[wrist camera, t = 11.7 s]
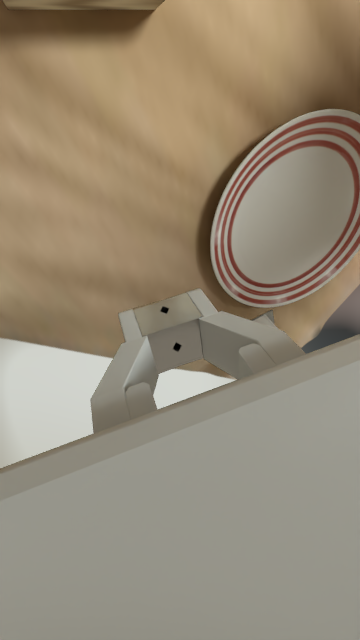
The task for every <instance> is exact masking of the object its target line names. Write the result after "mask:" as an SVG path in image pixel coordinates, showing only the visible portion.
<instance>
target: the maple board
mask: <svg viewBox="0 0 360 640" xmlns="http://www.w3.org/2000/svg"><path fill="white" fill-rule="evenodd" d="M164 1H165V0H3V2H4V4H5V5H6V7H7V9H8V10H156V9H157V8H158V7H159V6H160V5H161V4H162V3H163V2H164Z"/></svg>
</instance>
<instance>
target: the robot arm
mask: <svg viewBox="0 0 360 640" xmlns="http://www.w3.org/2000/svg"><path fill="white" fill-rule="evenodd" d="M118 316H119V320H120V324H121V328H122V331H123V335H124V339H125V343H122V344H121V345H120V347H119V349H118V351H117V353H116V354H115V356H114V358H113V360H112V362H111V363H110V365H109V367H108V369H107V371H106V372H105V374H104V376H103V378H102V380H101V382H100V383H99V385H98V387H97V389H96V390H95V392H94V394H93V396H92V398H91V410H92V421H93V432H94V434H91V435H89V436H86V437H83V438H81V439H78V440H75V441H73V442H70V443H67V444H65V445H62V446H60V447H57V448H54V449H51V450H49V451H46V452H43V453H41V454H38V455H36V456H33V457H30V458H27V459H25V460H22V461H19V462H16V463H14V464H11V465H8V466H6V467H3V468H0V640H360V334H359V335H357V336H354V337H351V338H348V339H346V340H343V341H341V342H338V343H335V344H332V345H330V346H327V347H324V348H322V349H320V350H316V351H314V352H311V353H308V354H305V352H304V351H302V349H301V348H300V347H299V346H298V345H297V344H296V343H295V342H294V341H293V340H292V339H291V338H290V337H289V336H288V335H287V334H286V333H285V332H284V331H281V330H278V329H275V328H272V327H269V326H266V325H263V324H260V323H257V322H254V321H251V320H248V319H245V318H242V317H239V316H236V315H233V314H230V313H227V312H224V311H220V312H218V311H217V310H216V308H215V307H214V306H213V305H212V303H211V302H210V301H209V299H208V298H207V297H206V295H205V294H204V293H203V291H202V290H201V289H200V288H197V289H194V290H191V291H188V292H186V293H183V294H180V295H177V296H174V297H171V298H168V299H165V300H161V301H157V302H153V303H150V304H147V305H143V306H140V307H136V308H133V310H132V309H129V310H126V311H123V312H119V313H118ZM202 358H204V359H205V360H206V361H208V362H210V363H211V364H213V365H215V366H216V367H218V368H220V369H221V370H223V371H225V372H226V373H228V374H230V375H231V376H233V377H235V378H236V379H238V380H236V381H233V382H231V383H228V384H225V385H223V386H220V387H217V388H214V389H212V390H209V391H207V392H204V393H201V394H198V395H196V396H193V397H190V398H188V399H186V400H182V401H180V402H177V403H174V404H172V405H169V406H166V407H164V408H161V409H158V410H157V407H156V404H155V401H154V398H153V393H154V390H155V387H156V383H157V379H158V374H160V373H162V372H165V371H167V370H170V369H173V368H175V367H178V366H181V365H184V364H187V363H190V362H193V361H196V360H199V359H202Z"/></svg>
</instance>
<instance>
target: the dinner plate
mask: <svg viewBox="0 0 360 640" xmlns="http://www.w3.org/2000/svg"><path fill="white" fill-rule="evenodd" d="M359 249H360V115H359V114H356V113H354V112H351V111H348V110H343V109H324V110H318V111H314V112H310V113H307V114H304V115H301V116H299V117H297V118H295V119H292V120H290V121H289V122H287V123H285V124H284V125H282V126H281V127H279V128H277V129H276V130H275V131H273V132H272V133H271V134H269V135H268V136H267V137H266V138H264V139H263V140H262V141H261V142H260V143H259V144H258V145H257V146H256V147H255V148H254V149H253V150H252V151H251V152H250V153H249V154H248V155H247V156H246V158H245V159H244V160H243V161H242V163H241V164H240V165H239V166H238V168H237V169H236V171H235V172H234V174H233V175H232V177H231V179H230V180H229V182H228V184H227V186H226V188H225V190H224V192H223V194H222V196H221V199H220V201H219V204H218V206H217V209H216V212H215V216H214V220H213V224H212V229H211V237H210V255H211V261H212V266H213V270H214V273H215V276H216V278H217V280H218V282H219V283H220V285H221V286H222V288H223V289H224V290H225V291H226V292H227V293H228V294H229V295H230V296H231V297H232V298H234V299H235V300H237V301H238V302H241V303H243V304H246V305H249V306H253V307H262V308H269V307H278V306H283V305H286V304H290V303H292V302H295V301H298V300H300V299H302V298H304V297H306V296H308V295H310V294H312V293H313V292H315V291H317V290H318V289H320V288H321V287H323V286H324V285H325V284H327V283H328V282H329V281H330V280H331V279H333V278H334V277H335V276H336V275H337V274H338V273H339V272H340V271H341V270H342V269H343V268H344V267H345V266H346V265H347V264H348V263H349V262H350V261H351V259H352V258H353V257H354V256H355V255H356V253H357V252H358V251H359Z"/></svg>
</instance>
